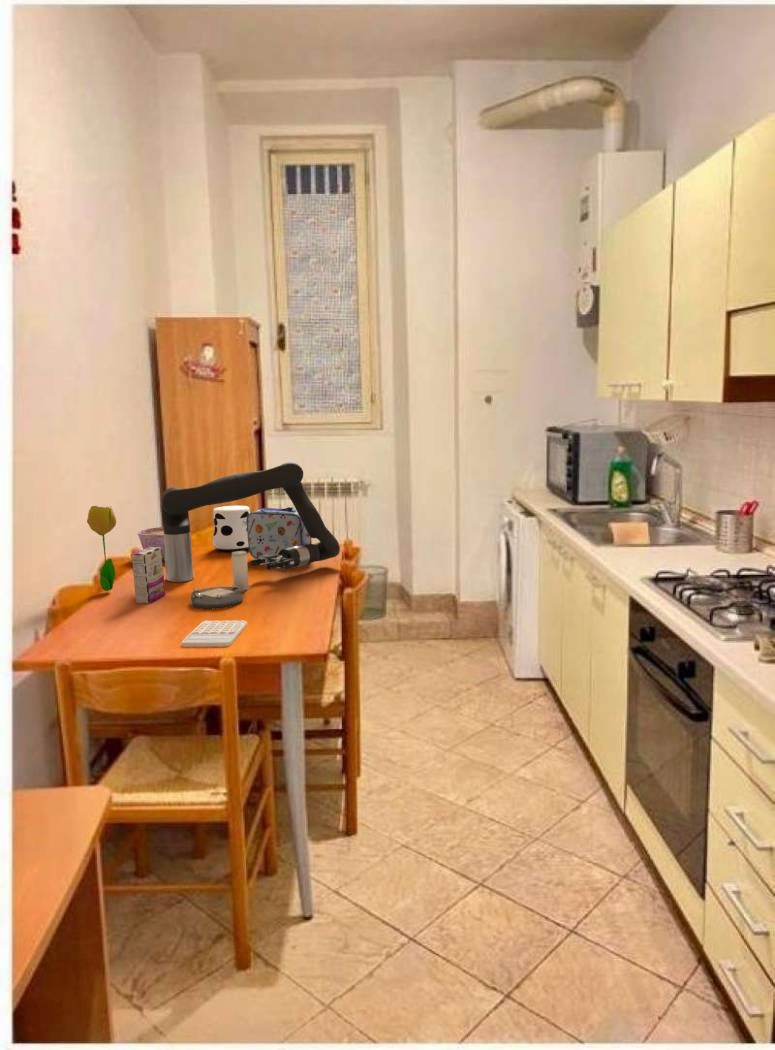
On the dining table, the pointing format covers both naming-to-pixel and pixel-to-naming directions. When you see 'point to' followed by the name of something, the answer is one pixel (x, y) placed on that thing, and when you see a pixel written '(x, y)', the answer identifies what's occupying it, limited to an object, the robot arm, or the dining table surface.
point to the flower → (103, 523)
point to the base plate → (216, 597)
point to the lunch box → (275, 531)
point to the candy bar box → (148, 575)
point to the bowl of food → (153, 538)
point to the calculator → (214, 634)
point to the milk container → (230, 528)
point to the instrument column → (240, 570)
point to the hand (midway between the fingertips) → (258, 565)
